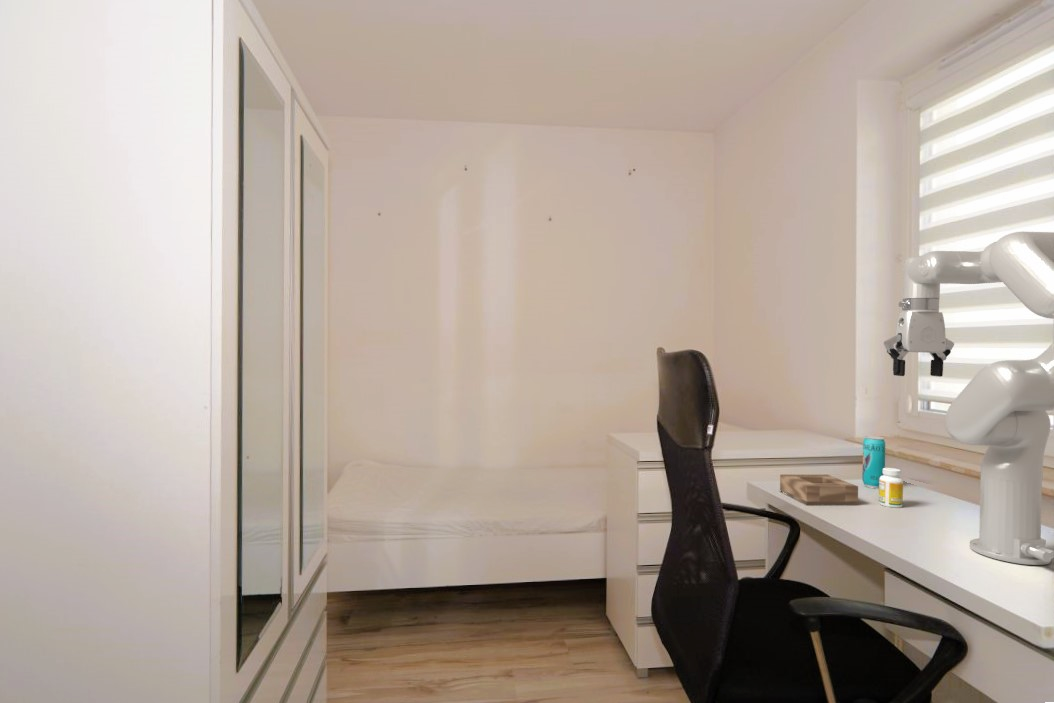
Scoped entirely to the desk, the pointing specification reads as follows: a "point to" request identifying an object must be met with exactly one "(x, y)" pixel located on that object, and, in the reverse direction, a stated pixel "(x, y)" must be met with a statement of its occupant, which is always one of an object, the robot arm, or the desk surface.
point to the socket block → (819, 489)
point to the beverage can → (873, 460)
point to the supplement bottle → (891, 488)
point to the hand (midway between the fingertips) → (917, 375)
